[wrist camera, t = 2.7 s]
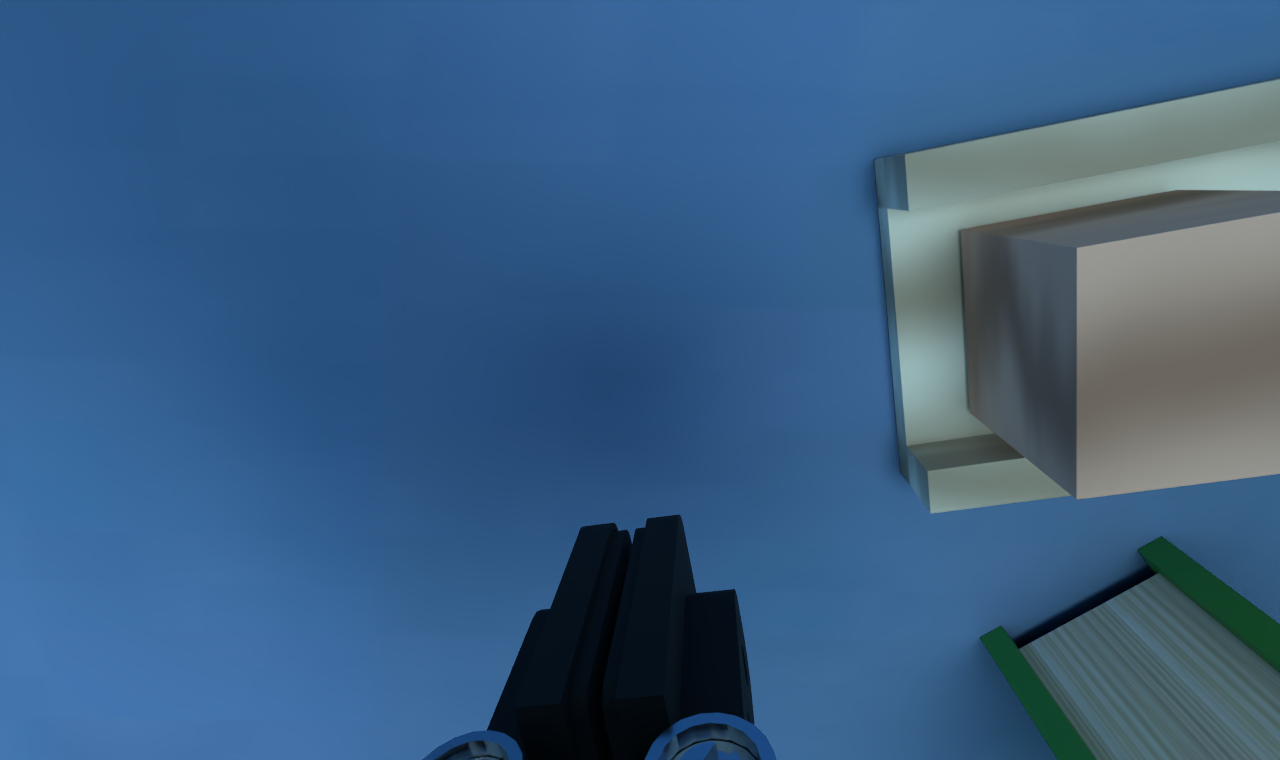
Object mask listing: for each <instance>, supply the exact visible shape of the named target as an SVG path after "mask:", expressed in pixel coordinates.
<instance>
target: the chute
mask: <svg viewBox="0 0 1280 760" xmlns="http://www.w3.org/2000/svg"><path fill="white" fill-rule="evenodd" d="M874 164H875V176H876V188H877V199H878V211H879V223H880V235H881V247H882V258H883V270H884V282H885V294H886V305H887V317H888V329H889V341H890V353H891V364H892V376H893V388H894V400H895V412H896V423H897V435H898V447H899V459H900V470H901V474H902V475H903V476H904V478H905V479H906V481H907V482H908V483H909V485H910V486H911V487H912V489H913V490H914V491H915V493H916V494H917V496H918V497H919V498H920V500H921V501H922V502H923V504H924V505H925V507H926V508H927V509H928V511H929V512H930V513H938V512H946V511H954V510H962V509H970V508H978V507H985V506H993V505H1001V504H1009V503H1017V502H1025V501H1032V500H1040V499H1048V498H1056V497H1064V496H1072V495H1070V494H1069V493H1068V492H1067V491H1066V490H1064V489H1063V488H1062V487H1061V486H1059V485H1058V484H1057V483H1056V482H1054V481H1053V480H1052V479H1051V478H1050V477H1048V476H1047V475H1046V474H1045V473H1043V472H1042V471H1041V470H1040V469H1038V468H1037V467H1036V466H1035V465H1034V464H1032V463H1031V462H1030V461H1029V460H1027V459H1026V458H1025V457H1024V456H1022V455H1021V454H1020V453H1019V452H1018V451H1016V450H1015V449H1014V448H1013V447H1011V446H1010V445H1009V444H1008V443H1006V442H1005V441H1004V440H1003V439H1002V438H1000V437H999V436H998V435H997V434H995V433H994V432H993V431H992V430H990V429H989V428H988V427H987V426H986V425H984V424H983V423H982V422H981V421H979V420H978V419H977V418H976V417H975V416H973V415H972V414H971V413H970V402H969V382H968V362H967V342H966V321H965V301H964V281H963V261H962V241H961V229H966V228H972V227H977V226H982V225H988V224H993V223H999V222H1004V221H1010V220H1015V219H1021V218H1026V217H1031V216H1037V215H1042V214H1048V213H1053V212H1059V211H1064V210H1070V209H1075V208H1081V207H1086V206H1091V205H1097V204H1102V203H1108V202H1113V201H1119V200H1124V199H1130V198H1135V197H1140V196H1146V195H1151V194H1157V193H1162V192H1168V191H1173V190H1263V191H1280V78H1276V79H1271V80H1266V81H1261V82H1256V83H1251V84H1246V85H1241V86H1236V87H1231V88H1226V89H1221V90H1216V91H1211V92H1206V93H1201V94H1196V95H1191V96H1186V97H1181V98H1176V99H1171V100H1166V101H1161V102H1156V103H1151V104H1146V105H1141V106H1136V107H1131V108H1126V109H1121V110H1117V111H1112V112H1107V113H1102V114H1097V115H1092V116H1087V117H1082V118H1077V119H1072V120H1067V121H1062V122H1057V123H1052V124H1047V125H1042V126H1037V127H1032V128H1027V129H1022V130H1017V131H1012V132H1007V133H1002V134H997V135H992V136H987V137H982V138H977V139H972V140H967V141H962V142H957V143H952V144H947V145H942V146H937V147H932V148H927V149H922V150H917V151H912V152H907V153H903V154H898V155H893V156H888V157H883V158H878V159H874Z"/></svg>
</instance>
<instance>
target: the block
mask: <svg viewBox="0 0 1280 760" xmlns="http://www.w3.org/2000/svg"><path fill="white" fill-rule="evenodd" d="M961 241H962V261H963V281H964V301H965V321H966V342H967V362H968V382H969V402H970V413H971V414H972V415H973V416H975V417H976V418H977V419H978V420H979V421H981V422H982V423H983V424H984V425H986V426H987V427H988V428H989V429H990V430H992V431H993V432H994V433H995V434H997V435H998V436H999V437H1000V438H1002V439H1003V440H1004V441H1005V442H1006V443H1008V444H1009V445H1010V446H1011V447H1013V448H1014V449H1015V450H1016V451H1018V452H1019V453H1020V454H1021V455H1022V456H1024V457H1025V458H1026V459H1027V460H1029V461H1030V462H1031V463H1032V464H1034V465H1035V466H1036V467H1037V468H1038V469H1040V470H1041V471H1042V472H1043V473H1045V474H1046V475H1047V476H1048V477H1050V478H1051V479H1052V480H1053V481H1054V482H1056V483H1057V484H1058V485H1059V486H1061V487H1062V488H1063V489H1064V490H1066V491H1067V492H1068V493H1069V494H1070V495H1072V496H1073V497H1074V498H1075V499H1084V498H1092V497H1100V496H1108V495H1116V494H1124V493H1131V492H1139V491H1147V490H1155V489H1163V488H1171V487H1179V486H1187V485H1195V484H1202V483H1210V482H1218V481H1226V480H1234V479H1242V478H1250V477H1258V476H1265V475H1273V474H1280V191H1263V190H1173V191H1168V192H1162V193H1157V194H1151V195H1146V196H1140V197H1135V198H1130V199H1124V200H1119V201H1113V202H1108V203H1102V204H1097V205H1091V206H1086V207H1081V208H1075V209H1070V210H1064V211H1059V212H1053V213H1048V214H1042V215H1037V216H1031V217H1026V218H1021V219H1015V220H1010V221H1004V222H999V223H993V224H988V225H982V226H977V227H972V228H966V229H961Z"/></svg>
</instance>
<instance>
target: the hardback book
mask: <svg viewBox="0 0 1280 760" xmlns="http://www.w3.org/2000/svg"><path fill="white" fill-rule="evenodd" d="M1138 552H1139V553H1140V554H1141V556H1142V557H1143V558H1144V560H1145V561H1146V563H1147V564H1148V565H1149V567H1150V568H1151V569H1152V571H1153V572H1154V574H1155V575H1154V576H1153V577H1151V578H1149V579H1147V580H1145V581H1143V582H1142V583H1140V584H1138V585H1136V586H1134V587H1132V588H1130V589H1129V590H1127V591H1125V592H1123V593H1121V594H1119V595H1118V596H1116V597H1114V598H1112V599H1110V600H1108V601H1106V602H1105V603H1103V604H1101V605H1099V606H1097V607H1095V608H1094V609H1092V610H1090V611H1088V612H1086V613H1084V614H1082V615H1081V616H1079V617H1077V618H1075V619H1073V620H1071V621H1070V622H1068V623H1066V624H1064V625H1062V626H1060V627H1058V628H1057V629H1055V630H1053V631H1051V632H1049V633H1047V634H1046V635H1044V636H1042V637H1040V638H1038V639H1036V640H1034V641H1033V642H1031V643H1029V644H1027V645H1025V646H1023V647H1022V648H1020V649H1019V648H1018V646H1017V645H1016V644H1015V643H1014V641H1013V640H1012V639H1011V638H1010V636H1009V635H1008V634H1007V633H1006V631H1005V630H1004V629H1003V628H1002V626H999V627H998V628H996V629H994V630H992V631H990V632H989V633H987V634H985V635H983V636H981V637H980V639H981V640H982V642H983V644H984V645H985V647H986V648H987V650H988V651H989V653H990V654H991V656H992V658H993V659H994V661H995V662H996V664H997V665H998V667H999V669H1000V670H1001V672H1002V673H1003V675H1004V676H1005V678H1006V680H1007V681H1008V683H1009V684H1010V686H1011V687H1012V689H1013V691H1014V692H1015V694H1016V695H1017V697H1018V698H1019V700H1020V701H1021V703H1022V705H1023V706H1024V708H1025V709H1026V711H1027V712H1028V714H1029V716H1030V717H1031V719H1032V720H1033V722H1034V723H1035V725H1036V727H1037V728H1038V730H1039V731H1040V733H1041V734H1042V736H1043V738H1044V739H1045V741H1046V742H1047V744H1048V745H1049V747H1050V748H1051V750H1052V752H1053V753H1054V755H1055V756H1056V758H1057V759H1058V760H1280V624H1279V623H1277V622H1276V621H1275V620H1273V619H1272V618H1271V617H1269V616H1268V615H1267V614H1265V613H1264V612H1263V611H1261V610H1260V609H1259V608H1257V607H1256V606H1254V605H1253V604H1252V603H1250V602H1249V601H1248V600H1246V599H1245V598H1244V597H1242V596H1241V595H1240V594H1238V593H1237V592H1236V591H1234V590H1233V589H1232V588H1230V587H1229V586H1228V585H1226V584H1225V583H1224V582H1222V581H1221V580H1220V579H1218V578H1217V577H1216V576H1214V575H1213V574H1212V573H1210V572H1209V571H1207V570H1206V569H1205V568H1203V567H1202V566H1201V565H1199V564H1198V563H1197V562H1195V561H1194V560H1193V559H1191V558H1190V557H1189V556H1187V555H1186V554H1185V553H1183V552H1182V551H1181V550H1179V549H1178V548H1177V547H1175V546H1174V545H1173V544H1171V543H1170V542H1169V541H1167V540H1166V539H1165V538H1163V537H1162V536H1161V537H1159V538H1158V539H1156V540H1154V541H1152V542H1150V543H1149V544H1147V545H1145V546H1143V547H1141V548H1140V549H1138Z"/></svg>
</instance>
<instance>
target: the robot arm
mask: <svg viewBox="0 0 1280 760" xmlns="http://www.w3.org/2000/svg"><path fill="white" fill-rule="evenodd" d="M423 760H776V756H775V753H774V751H773V749H772V747H771V745H770V743H769V741H768V739H767V737H766V736H765V735H764V734H763V733H762V732H761V731H760V730H759V729H758V728H757V727H756V726H755V725H754V715H753V705H752V694H751V684H750V676H749V667H748V660H747V653H746V646H745V640H744V634H743V628H742V622H741V616H740V610H739V605H738V600H737V595H736V591H735V589H732V590H722V591H713V592H704V593H696V589H695V584H694V579H693V573H692V568H691V563H690V558H689V553H688V548H687V542H686V537H685V532H684V527H683V522H682V519H681V516H680V515H672V516H664V517H656V518H648V519H647V521H646V527H645V528H637V529H636V530H635V534H634V539H633V544H632V543H631V538H630V534H629V532H628V530H621V531H618V529H617V526H616V524H615V523H608V524H600V525H592V526H585V527H582V528H581V529H580V531H579V534H578V537H577V539H576V542H575V545H574V547H573V550H572V553H571V555H570V558H569V561H568V563H567V566H566V568H565V571H564V574H563V576H562V579H561V582H560V584H559V587H558V590H557V592H556V595H555V598H554V600H553V603H552V606H551V608H550V609H545V610H540V611H538V612H536V614H535V616H534V617H533V619H532V622H531V624H530V626H529V629H528V631H527V634H526V636H525V639H524V641H523V643H522V646H521V648H520V651H519V653H518V656H517V658H516V661H515V663H514V665H513V668H512V670H511V673H510V675H509V678H508V680H507V682H506V685H505V687H504V690H503V692H502V695H501V697H500V699H499V702H498V704H497V707H496V709H495V712H494V714H493V717H492V719H491V721H490V724H489V726H488V729H487V731H475V732H471V733H467V734H464V735H461V736H458V737H455V738H453V739H452V740H450V741H448V742H446V743H444V744H443V745H441V746H439V747H437V748H436V749H435V750H434V751H432V752H431V753H430V754H429V755H427V756H426V757H425V758H424V759H423Z"/></svg>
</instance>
